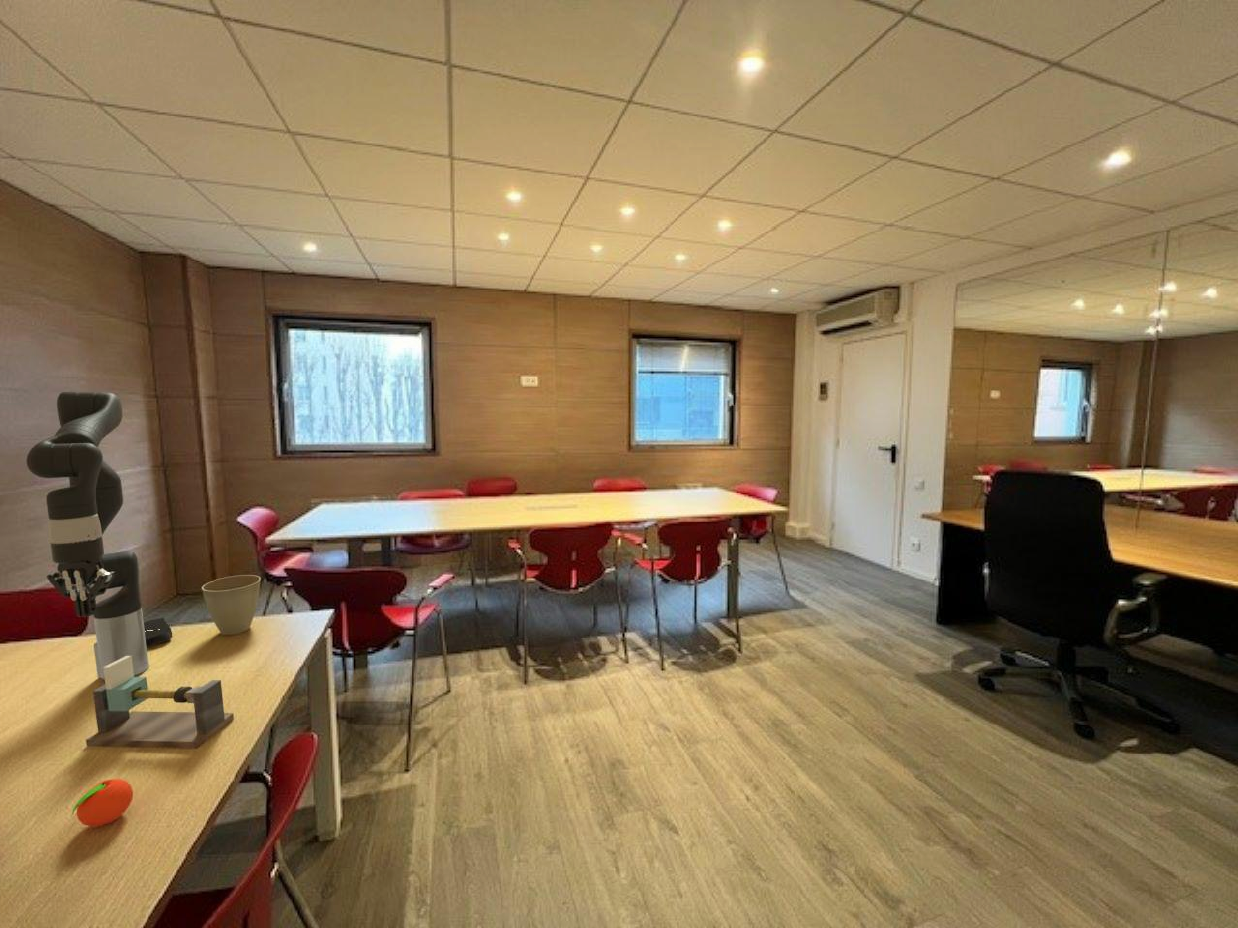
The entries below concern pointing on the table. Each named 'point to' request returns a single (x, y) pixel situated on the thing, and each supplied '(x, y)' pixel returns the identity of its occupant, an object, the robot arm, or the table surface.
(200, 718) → the horizontal rod stand
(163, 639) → the black sponge
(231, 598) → the plant pot
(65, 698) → the table surface
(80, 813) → the clementine
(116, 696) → the teal sliding block
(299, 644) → the table surface
